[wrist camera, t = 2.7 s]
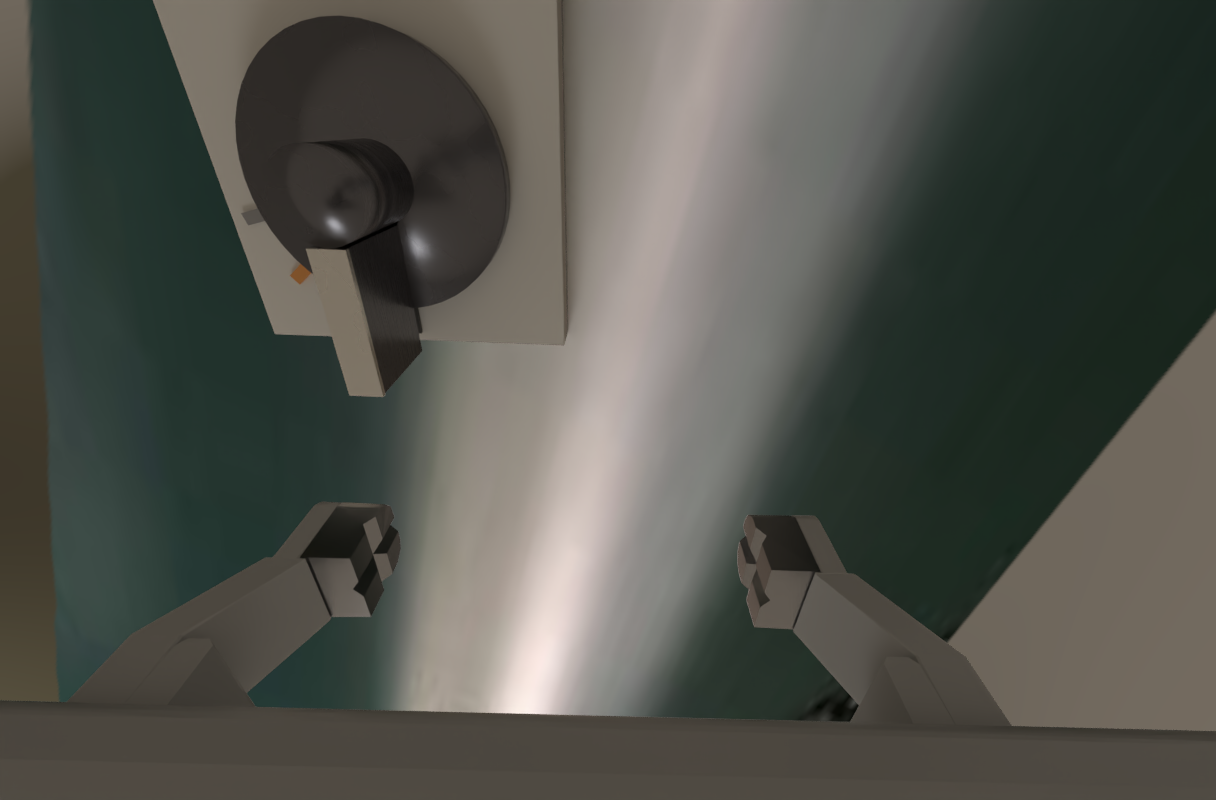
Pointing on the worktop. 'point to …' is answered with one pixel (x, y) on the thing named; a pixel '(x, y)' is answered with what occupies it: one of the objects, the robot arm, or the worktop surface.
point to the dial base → (507, 87)
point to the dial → (372, 180)
